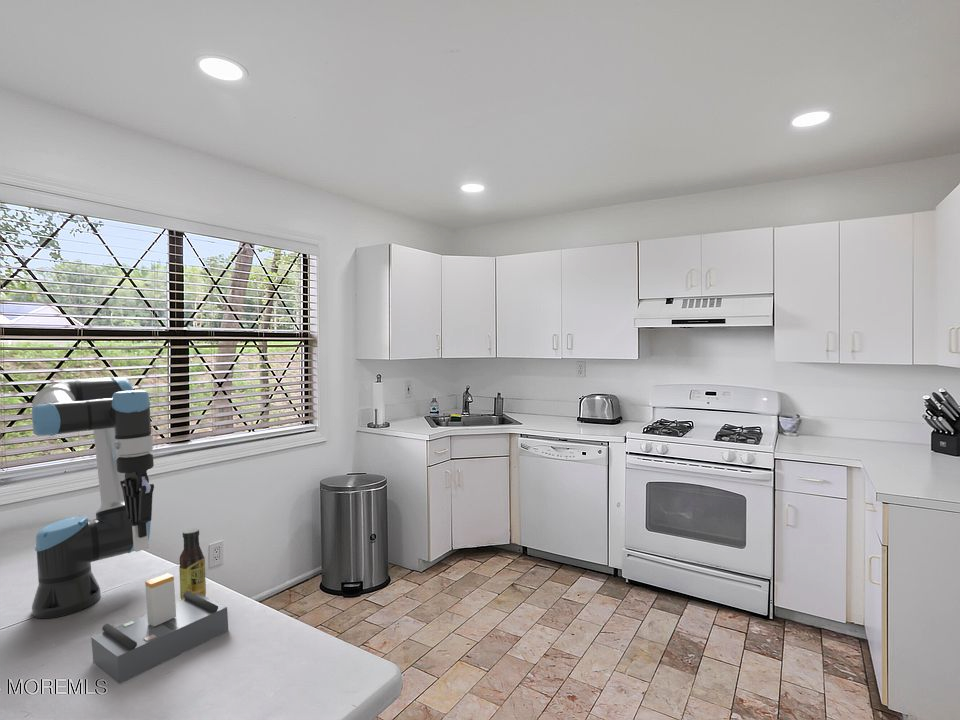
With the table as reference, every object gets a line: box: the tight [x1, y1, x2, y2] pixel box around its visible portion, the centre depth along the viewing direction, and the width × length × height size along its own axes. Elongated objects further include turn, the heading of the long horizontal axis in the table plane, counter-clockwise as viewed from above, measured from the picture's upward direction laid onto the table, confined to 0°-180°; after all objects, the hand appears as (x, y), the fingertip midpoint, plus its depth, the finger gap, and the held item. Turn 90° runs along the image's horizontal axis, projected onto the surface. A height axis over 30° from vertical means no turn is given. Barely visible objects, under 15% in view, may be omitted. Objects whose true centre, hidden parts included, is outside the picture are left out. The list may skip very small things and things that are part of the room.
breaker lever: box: [144, 572, 176, 627], centre depth 125 cm, size 3×5×10 cm, turn 145°
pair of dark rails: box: [101, 591, 218, 650], centre depth 126 cm, size 14×20×2 cm
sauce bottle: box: [178, 528, 207, 600], centre depth 147 cm, size 7×6×20 cm
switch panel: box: [90, 593, 229, 685], centre depth 126 cm, size 14×24×6 cm, turn 145°
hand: (141, 549), depth 130 cm, fingers closed
